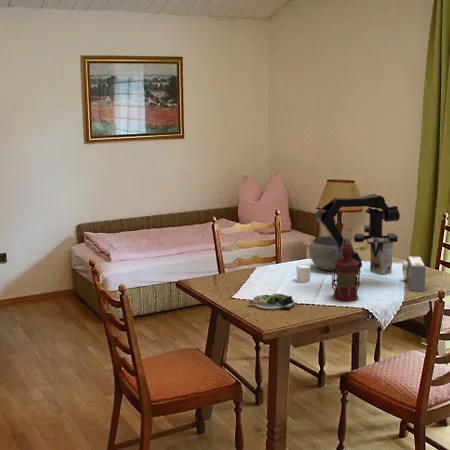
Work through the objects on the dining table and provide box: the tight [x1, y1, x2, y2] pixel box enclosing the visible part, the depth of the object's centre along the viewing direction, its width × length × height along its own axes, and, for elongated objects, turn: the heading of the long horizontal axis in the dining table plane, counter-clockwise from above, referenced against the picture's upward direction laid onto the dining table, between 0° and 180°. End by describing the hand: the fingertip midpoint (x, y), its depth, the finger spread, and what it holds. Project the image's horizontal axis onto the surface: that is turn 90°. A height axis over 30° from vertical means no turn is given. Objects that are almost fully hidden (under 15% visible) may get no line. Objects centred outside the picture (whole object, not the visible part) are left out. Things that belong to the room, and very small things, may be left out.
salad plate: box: [247, 293, 295, 311], centre depth 263 cm, size 19×18×5 cm
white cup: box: [295, 264, 312, 284], centre depth 295 cm, size 7×7×7 cm
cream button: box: [402, 260, 408, 271], centre depth 291 cm, size 3×4×4 cm
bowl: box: [308, 235, 350, 272], centre depth 314 cm, size 20×20×15 cm
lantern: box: [331, 228, 362, 303], centre depth 267 cm, size 12×12×30 cm
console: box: [405, 256, 426, 292], centre depth 285 cm, size 6×18×12 cm, turn 170°
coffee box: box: [369, 240, 394, 276], centre depth 307 cm, size 9×6×16 cm
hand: (375, 256), depth 287 cm, fingers closed
